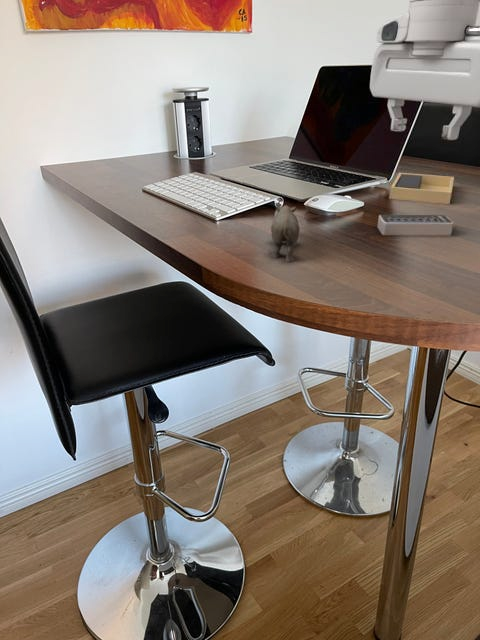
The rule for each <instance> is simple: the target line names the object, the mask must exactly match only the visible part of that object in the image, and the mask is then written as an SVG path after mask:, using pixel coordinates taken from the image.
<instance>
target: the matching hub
mask: <svg viewBox="0 0 480 640" xmlns="http://www.w3.org/2000/svg"><path fill="white" fill-rule="evenodd" d="M421 180H422V176H418V175H405V174H403V175H402V177H401V179H400V181H399V183H398V184H397V186H396V187H402V188H413V189H419V188H420V186H421Z"/></svg>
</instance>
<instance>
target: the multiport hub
mask: <svg viewBox="0 0 480 640" xmlns="http://www.w3.org/2000/svg"><path fill="white" fill-rule="evenodd" d="M376 228H377V229H378V231H379V232H380V233H381V235H382V236H452V232H453V228H454V221H453V220H451V219H450V218H449V217H448V216H446V215H445V214H379V215H378V219H377V227H376Z"/></svg>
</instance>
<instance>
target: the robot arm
mask: <svg viewBox="0 0 480 640" xmlns="http://www.w3.org/2000/svg"><path fill="white" fill-rule="evenodd" d="M479 8H480V0H409V4H408V11H405V12H403V13H402V14H401V15H398V16H397V17H394V19H391V20H389V21H387V22H385V23H383V24H382V25H380V26H379V27H378V28H377V31H376V41H377V43H380V44H379V45H378V46H377V48H376V49H375V52H374V54H373V57H372V58H373V59H372V64H371V69H370V70H371V72H370V80H369V90H370V93H371V95H372V97H374V98H384V99H387V109H388V112H389V116H390V119H391V123H390V131H391V132H405V130H406V129H407V126H406V125H407V124H408V123H407V122H408V118H404V116H403V111H402V107H404V105H405V101H414V102H425V103H433V104H444V105H453V107H452V114H453V115H454V117H453V118H452V120H451V121H450V123H449V124H448V125H446V124H445V125H443V126H442V133H441V138H442V139H443V140H447V141H455V140H457V139H458V138H459V133H460V129H461V127H462V126H463V124H464V123H465V122H466V121H467V119H468V117H469V116H471V113H472V108H473V107H475V108H480V25H476V24H477V20H478V19H477V18H478V13H479Z"/></svg>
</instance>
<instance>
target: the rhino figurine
mask: <svg viewBox="0 0 480 640" xmlns="http://www.w3.org/2000/svg"><path fill="white" fill-rule="evenodd" d="M275 209H276V211H277V213H276V214H275V215H274V218H273V219H272V223H271V227H270V233H271V239H272V244H273V246H274V247H273V248H274V249H273V252H272V253H271V254H270V256H271V257H272V258H275V259H278V258H280V257H281V253H280V251H281V249H282V245H283V243H285V245H286V257H285V258H284V259H285V262H286V263H294V262H295V261H296V259H295V257H293V255H294V249H295V247H297V242H298V239H299V235H300V225H299V220H298V217H297V215H295V212H296V211H297V207H296V206H293V207H290V206H288V205H284V206H283V207H281V205H279V204H276V208H275Z"/></svg>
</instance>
